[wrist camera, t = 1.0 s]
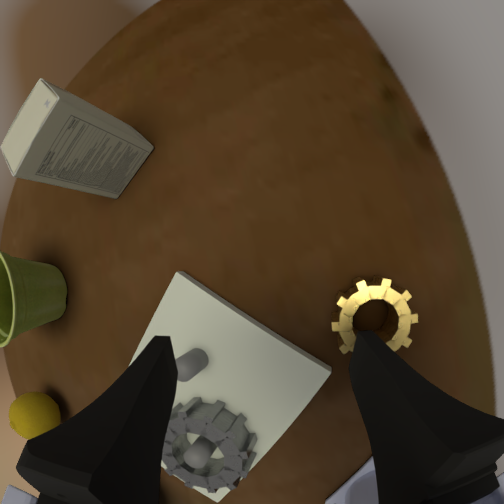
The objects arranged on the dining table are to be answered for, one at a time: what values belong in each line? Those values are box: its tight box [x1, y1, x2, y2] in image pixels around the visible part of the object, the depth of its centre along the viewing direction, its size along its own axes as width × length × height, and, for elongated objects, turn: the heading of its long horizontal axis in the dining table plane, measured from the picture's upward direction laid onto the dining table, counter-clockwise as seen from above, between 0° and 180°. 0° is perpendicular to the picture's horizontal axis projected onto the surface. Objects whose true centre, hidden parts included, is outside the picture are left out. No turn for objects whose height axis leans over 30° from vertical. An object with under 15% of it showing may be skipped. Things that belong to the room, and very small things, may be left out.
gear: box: [162, 397, 258, 493], centre depth 22 cm, size 8×8×3 cm
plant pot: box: [0, 251, 67, 347], centre depth 25 cm, size 9×9×9 cm
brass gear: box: [331, 275, 418, 354], centre depth 20 cm, size 6×6×4 cm
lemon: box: [9, 392, 61, 439], centre depth 26 cm, size 6×6×8 cm
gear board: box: [129, 271, 332, 503], centre depth 23 cm, size 14×18×5 cm
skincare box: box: [0, 78, 154, 199], centre depth 22 cm, size 6×4×12 cm
